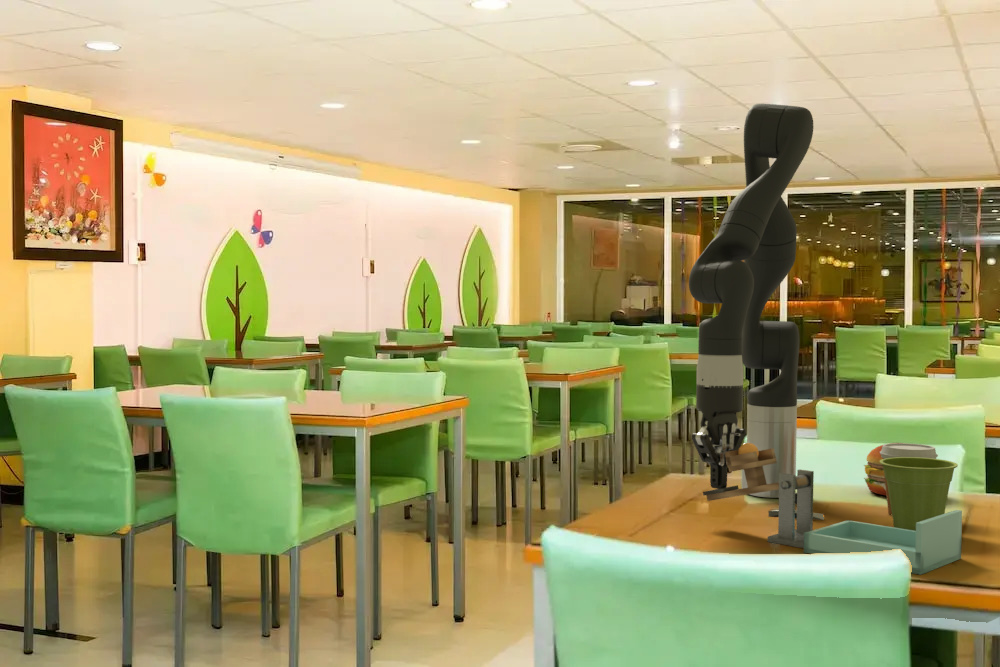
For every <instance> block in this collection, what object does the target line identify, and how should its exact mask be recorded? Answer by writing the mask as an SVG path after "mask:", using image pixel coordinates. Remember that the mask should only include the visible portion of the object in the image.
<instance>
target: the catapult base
mask: <svg viewBox="0 0 1000 667" xmlns="http://www.w3.org/2000/svg"><path fill="white" fill-rule="evenodd" d="M814 473H815V472H814V470H807V469H796V475H791V474H784V473H780V474H779V498H778V511H779V517H778V521H777V522H778V526H777V527H778V529H777V531H778V532H777V533H775V534H772V535H769V536H768V535H767V542H768V543H771V544H772V543H773V544H778V545H783V546H787V547H788V546H789V547H793V548H794V547H795V548H801V549H804V533H805V532H809V531H812V530H814V529H813V523H814V522H813V521H814V519H813V513H814V478H815V476H814ZM799 475H805V476H806V477H807V478H808V480H809V484H808V486H807V487H805V488H801V489H796V490H795V484H796V476H799ZM795 491H796V493H797V504H795ZM795 510H797V518H795ZM795 523H796V524H795ZM795 526H796V527H795Z"/></svg>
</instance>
